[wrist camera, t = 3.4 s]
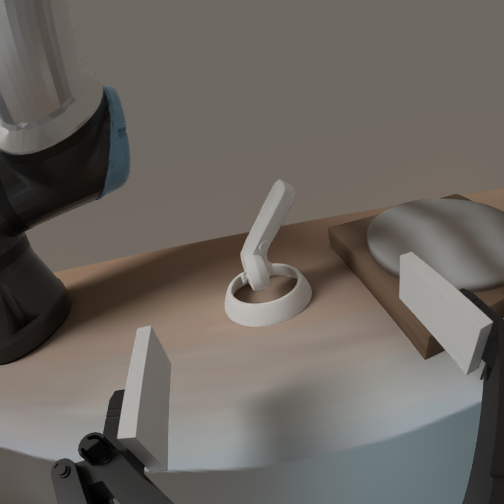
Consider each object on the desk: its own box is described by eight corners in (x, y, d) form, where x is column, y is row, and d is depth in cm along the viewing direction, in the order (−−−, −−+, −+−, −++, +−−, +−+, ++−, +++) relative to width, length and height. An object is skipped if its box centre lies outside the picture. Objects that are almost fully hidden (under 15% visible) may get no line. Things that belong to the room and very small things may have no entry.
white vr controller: (378, 238, 22) (301, 211, 19) (299, 349, 27) (226, 344, 24) (332, 192, 28) (264, 166, 25) (273, 293, 33) (210, 282, 30)
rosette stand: (425, 359, 17) (431, 324, 16) (330, 245, 34) (326, 219, 32) (565, 274, 18) (572, 245, 17) (456, 208, 34) (456, 186, 33)
